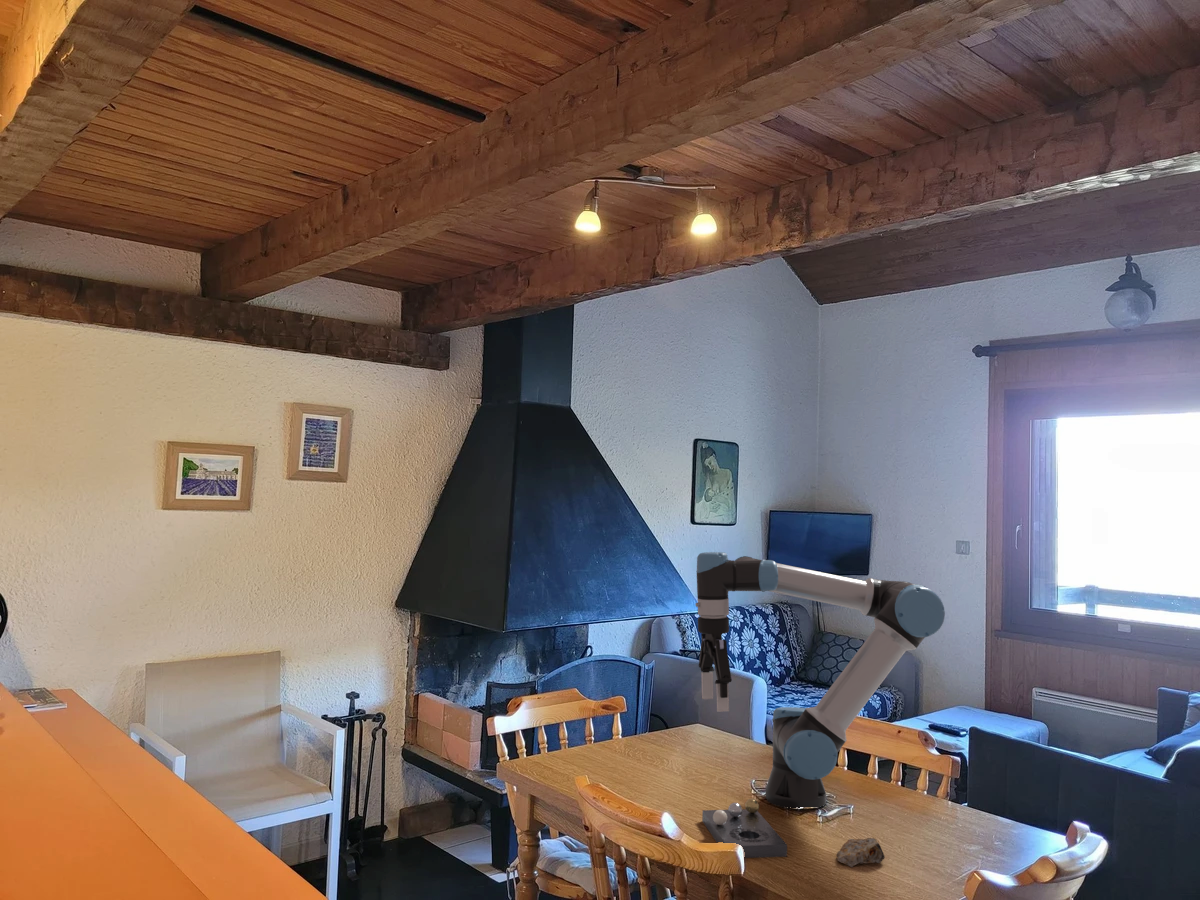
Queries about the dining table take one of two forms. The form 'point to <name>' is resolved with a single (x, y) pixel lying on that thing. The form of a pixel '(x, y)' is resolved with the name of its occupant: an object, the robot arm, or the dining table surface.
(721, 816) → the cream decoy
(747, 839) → the plate
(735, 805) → the steel ball
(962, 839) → the dining table surface
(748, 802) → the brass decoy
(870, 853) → the rock
